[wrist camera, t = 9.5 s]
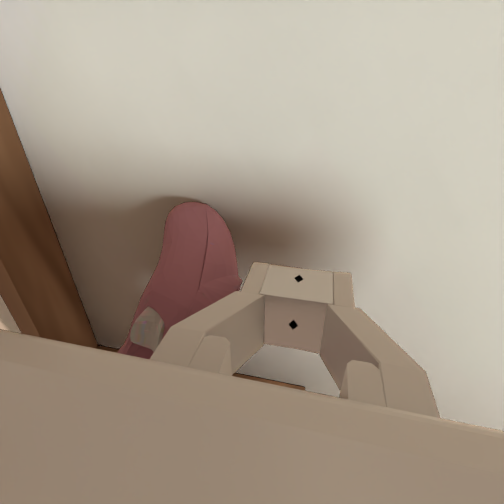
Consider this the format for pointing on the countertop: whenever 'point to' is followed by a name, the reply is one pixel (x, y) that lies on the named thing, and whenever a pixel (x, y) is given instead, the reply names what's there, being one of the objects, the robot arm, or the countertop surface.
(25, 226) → the chassis bay
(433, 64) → the countertop surface
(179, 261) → the video game controller
